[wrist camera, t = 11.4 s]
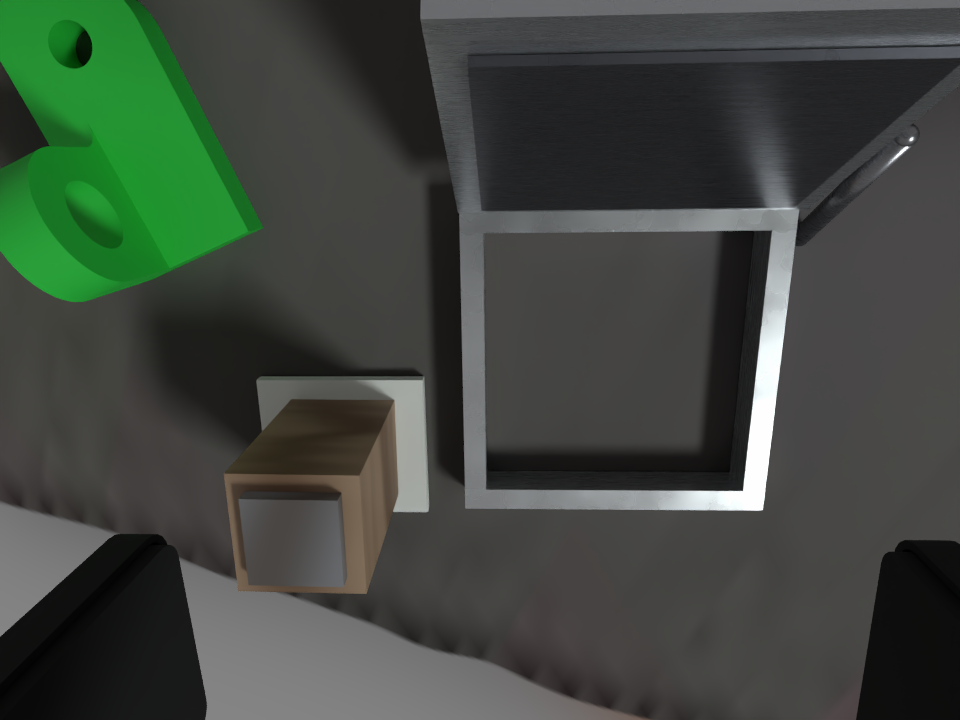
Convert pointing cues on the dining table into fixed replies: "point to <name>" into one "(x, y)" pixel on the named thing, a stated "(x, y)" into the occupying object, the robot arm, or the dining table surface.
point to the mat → (399, 388)
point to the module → (314, 497)
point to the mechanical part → (109, 154)
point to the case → (671, 166)
